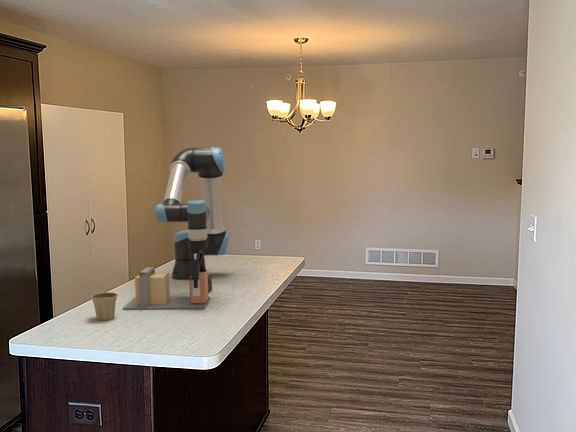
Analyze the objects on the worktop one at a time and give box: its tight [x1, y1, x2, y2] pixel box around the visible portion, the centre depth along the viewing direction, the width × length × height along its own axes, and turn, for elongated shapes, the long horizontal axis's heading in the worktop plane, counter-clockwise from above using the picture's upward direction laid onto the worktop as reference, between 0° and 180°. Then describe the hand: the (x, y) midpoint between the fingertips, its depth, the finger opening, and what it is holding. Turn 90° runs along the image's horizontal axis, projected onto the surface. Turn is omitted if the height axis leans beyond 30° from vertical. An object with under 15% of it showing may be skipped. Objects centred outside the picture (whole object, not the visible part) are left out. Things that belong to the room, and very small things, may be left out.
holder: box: [122, 266, 211, 311], centre depth 223 cm, size 16×32×14 cm, turn 89°
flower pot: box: [90, 292, 118, 321], centre depth 205 cm, size 9×9×9 cm
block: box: [189, 273, 209, 303], centre depth 223 cm, size 7×6×10 cm
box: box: [207, 273, 213, 294], centre depth 245 cm, size 6×6×7 cm
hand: (199, 291), depth 224 cm, fingers open, 12 cm apart
